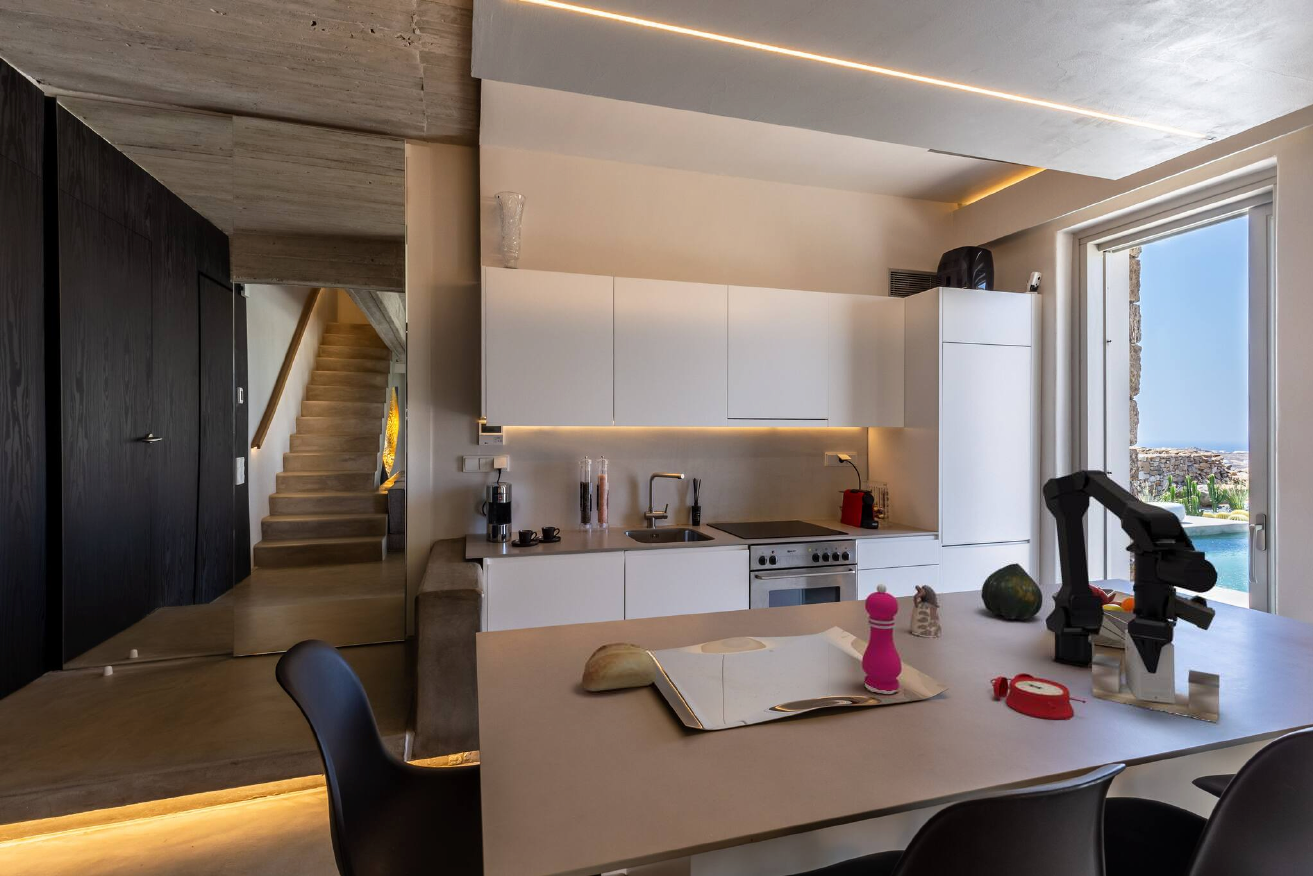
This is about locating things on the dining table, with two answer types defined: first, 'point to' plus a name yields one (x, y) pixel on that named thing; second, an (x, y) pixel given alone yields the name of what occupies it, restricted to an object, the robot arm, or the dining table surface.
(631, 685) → the bread roll
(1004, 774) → the dining table surface
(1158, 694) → the small box
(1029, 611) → the squash
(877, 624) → the pepper mill
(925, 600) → the figurine
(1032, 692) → the alarm clock
